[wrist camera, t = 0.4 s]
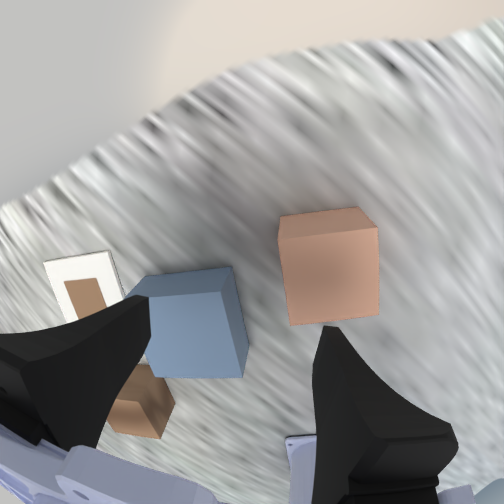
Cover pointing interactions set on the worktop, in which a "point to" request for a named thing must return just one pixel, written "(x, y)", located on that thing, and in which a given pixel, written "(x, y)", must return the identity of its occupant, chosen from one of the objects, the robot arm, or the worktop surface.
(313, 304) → the peach block
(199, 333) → the blue block
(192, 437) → the worktop surface
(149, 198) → the worktop surface
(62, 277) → the card
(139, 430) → the walnut block
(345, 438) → the robot arm
